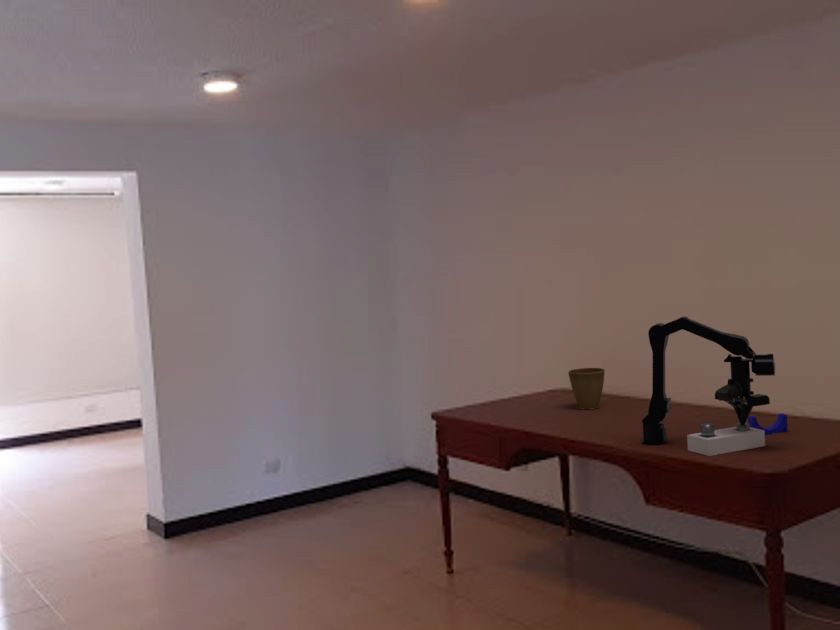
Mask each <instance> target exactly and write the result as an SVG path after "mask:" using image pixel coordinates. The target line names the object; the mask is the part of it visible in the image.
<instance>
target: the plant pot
mask: <svg viewBox="0 0 840 630" xmlns="http://www.w3.org/2000/svg"><path fill="white" fill-rule="evenodd" d="M605 370H606V369H604V368H601V367H584V368H575V369H571V370H568V371H567V373H568V378H569V382H570V385H571V389H572V392H573V395H574V397H575V400H576V402H577V405H578V407H579V409H580V408H584V409H590V408H597V407H598V408H599V406H600V403H601V398H602V395H603V389H604V382H605V381H604V380H605ZM598 408H597V409H598Z"/></svg>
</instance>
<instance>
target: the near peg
mask: <svg viewBox="0 0 840 630" xmlns="http://www.w3.org/2000/svg"><path fill="white" fill-rule="evenodd" d="M714 430H715V423H701V424H700V433H701V437H705V438H710V437H715V432H714Z"/></svg>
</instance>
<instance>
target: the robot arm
mask: <svg viewBox="0 0 840 630" xmlns="http://www.w3.org/2000/svg"><path fill="white" fill-rule="evenodd" d="M682 330H683V331H686V332H689V333H690V334H693V335H695V336H698V337H700V338H702V339H706V340H708V341H711V342H713V343H715V344H717V345H719V346H720V347H721V348H723V349H724V350H726V352H727V351H728V352H729V354H728V355H727V357H726V358H724V359H723V362H724V363H729V364H730V378H728V380H727V384H725V385H724V386H721V387H720V388H718V389H717V390H716V391H715V392H714V399H715V400H718V401H720V402H721V401H723V402H725V403H726V404H728V405H730V406H731V407H732V408H733V409H734V411H735V413H736V416H737V419H738V421H739V423H740V424H745V423H747V420H748V416H750V413H751V412H752V410H753V408H754V407H758V406H759V407H760V406H765V405H770V404H771V403H770V400H771V399H770V397H769V395H767V394H761V393H758V394H757V393H756V394H755V391H754V390H752V389H751V383H753V382H754V377H753V378H752V377H751V373H753V374H755V376H758V377H759V376H761V377H762V376H770V377H771V376H776V363H775V357H774V356H775V355H774V353H767V354H757V353H756V352H755V351H754V350H753V349H752V348H751V346H750V342H749V340H748V338H747V337H745V336H743V335H739V334H736V333H729V332H724V331H721V330H718V329H715V328H713V327H710V326H709V325H706V324H703V323H701V322H698V321H696V320H694V319H691V318H689V317H688V316H685V315H684V316H681V317H679V318H677V319H674V320H672V321H669V322H667V323H661V322H659V323H658V322H657V323H656V324H654V325H652V326H651V327H649V329H648V331H647V334H648V340H649V345H650V347H651V352H652V393H651V397H650V402H649V406H648V411H647V414H646V415H645V417H644V418H643V419H642V420H641V423H642V431H643V432H642V433H643V440H642V441H641V444H647V445H648V444H649V445H661V444H664V443H666V442H667V441H668V439H667V429H666V427H665V423H663V421H664V419H666V417H667V416H669V413H670V412H671V410H672V407H671V403H672V402H671V401H672V397H667V393H666V350H667V346H668V341H669V336H670V335H673V334H674V333H677V332H679V331H682ZM750 363H751V364H750ZM750 365H751V366H750ZM750 367H751V368H750Z"/></svg>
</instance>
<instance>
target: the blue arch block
mask: <svg viewBox="0 0 840 630" xmlns="http://www.w3.org/2000/svg"><path fill="white" fill-rule="evenodd" d="M747 420H748V422H747V423H749V424H750V427H751V428H755V429H760V430H764V432H765V436H767V435H770V436H771V435H773V434H779V433H788V431H789V430H788V414H786V413H784V412H783V413H778V416H777V419H776V421H775V423H773V425H771V426H769V427H768V426H767V427H763V426H761V425H760V424H759V422H758V420H757V417H756V416H755V415H749V416H748V418H747Z"/></svg>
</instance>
